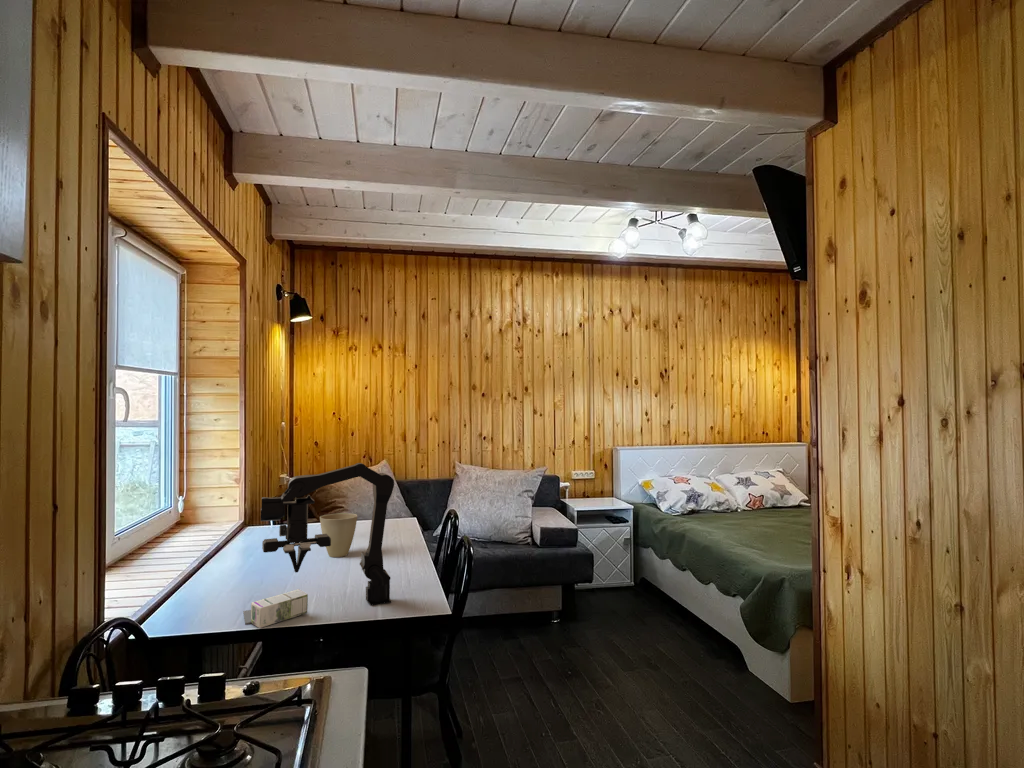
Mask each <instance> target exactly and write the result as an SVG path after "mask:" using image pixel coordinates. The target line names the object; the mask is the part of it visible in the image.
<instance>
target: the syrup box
mask: <svg viewBox="0 0 1024 768" xmlns="http://www.w3.org/2000/svg"><path fill="white" fill-rule="evenodd" d="M308 596H309V595H308V593H307V592H305V591H303V590H301V589H300V588H299V589H298V588H297V589H294V590H291V591H288V592H284V593H281V594H277V595H274V596H270V597H267V598H263V599H259V600H256V601H252V602H250V604H251V605H250V607H251V608H250V610H251V622H252V624H253V625H254V626H255V627H257V628H258V629H261V628H265V627H267V626H270V625H273V624H276V623H280V622H282V621H286V620H290V619H293V618H296V616H297V617H299V616H301V615H305V614H307V613H308V606H309V605H308V604H309V603H308V601H309V600H308V599H309V598H308Z"/></svg>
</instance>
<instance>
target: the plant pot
mask: <svg viewBox="0 0 1024 768" xmlns="http://www.w3.org/2000/svg"><path fill="white" fill-rule="evenodd" d="M357 520H358V515H357V514H355V513H350V512H349V513H344V512H343V513H331V514H330V513H329V514H324V515H320V516H319V522H320V529H321V534H327V535H328V536H329V537H330V538H331V546H327V547H325V549H326V552H327V555H328V556H329V557H330V558H341V557H342V558H343V557H346V556H348V554H349V552H350V549H351V546H352V544H353V541H354V537H355V532H356V528H357V523H358V522H357Z"/></svg>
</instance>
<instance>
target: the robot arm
mask: <svg viewBox="0 0 1024 768" xmlns="http://www.w3.org/2000/svg"><path fill="white" fill-rule="evenodd" d="M358 477H360V478H362V479H363V480H365V481H366V482H369V483H370V484H372V494H373V507H372V508H373V509H372V517H371V524H370V532H369V540H368V547H367V548H366V551H361V554H360V555H361V560H360V562H359V566H360V567H361V571H362V572H363V574H364V576H365V577H366V579H368V580H367V586H366V587H365V600H366V602H367V603H368V604H369V606H378V605H382V604H390V603H392V600H391V598H390V596H391V595H390V594H391V588H390V586H391V584H390V583H391V579H392V578H391V576H390V574H389V573H388V571H386V569H385V568H384V558H383V550H382V548H383V541H384V534H385V533H384V532H385V526H386V519H387V518H386V517H387V510H388V509H387V508H388V503H389V501H390V499H391V497H392V494H393V490H394V488H395V480H394V478H393V477H392V476H391V475H389V474H387V473H384V472H379V473H378V472H376V471H375V470H373V469H372V468H369V467H368V466H367V465H366V464H364V463H363V462H357V463H355V464H352V465H348V466H345V467H340V468H338V469H333V470H330V471H325V472H322V473H318V474H304V475H296V476H293V477H292V478H290V479H289V481H288V483H287V489H286V490H285V491H284V492H283V493H282V495H281V496H279V497H264V496H263V497H261V507H260V518H259V519H260V522H273V521H274V522H275V521H281V520H282V519H283V518H285V517H286V516H287V518H286V519H287V521H286V522H287V523H286V524H281V525H279V529H278V530H279V531H278V533H279V537H285V540H279V539H278V538H277V537H276V538H275V537H274V538H273V537H272V538H266V539H263V540H262V545H261V546H262V548H261V549H262V551H263V553H275V552H277V550H279V549H280V548H282V549H283V550H282V551H283V552H284V554H288V556H289V558H290V561H291V564H292V568H293V570H294V572H295V573H299V571H300V568H301V566H302V563H303V561H304V559H305V557H306V555H307V553H308V552H311V551H312V548H311V545H317V546H318V547H320V548H326V547H327V546H331V538H330V537H329V536H328V535H327V534H322V533H320V534H318V533H317V534H314V537H308V525H309V524H308V523H309V521H308V519H309V514H308V513H309V510H308V509H309V504H315V503H316V502H315V499H314V498H312V497H311V495H310V494H311V493H313V492H315V491H316V490H318V489H320V488H323V487H327V486H329V485H333V484H337V483H341V482H344V481H348V480H351V479H356V478H358ZM305 496H306V497H305ZM294 499H295V500H294ZM293 500H294V501H293ZM286 506H287V512H286ZM286 513H287V514H286ZM295 547H298V548H297V553H296V549H295Z"/></svg>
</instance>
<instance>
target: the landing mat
mask: <svg viewBox="0 0 1024 768" xmlns="http://www.w3.org/2000/svg"><path fill="white" fill-rule="evenodd" d="M296 617H298V616H296ZM296 617H295V618H296ZM243 619H244V625H250V624H253V623H252V622H251V609H248V610H243Z"/></svg>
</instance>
